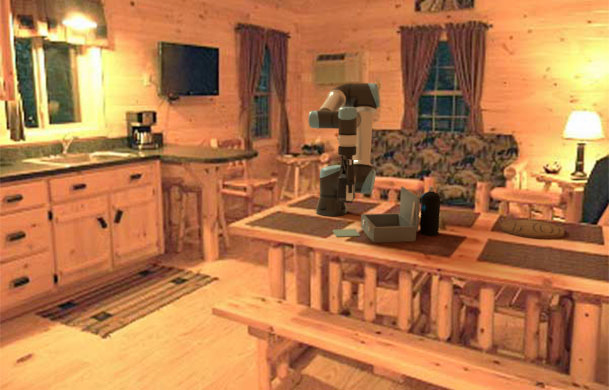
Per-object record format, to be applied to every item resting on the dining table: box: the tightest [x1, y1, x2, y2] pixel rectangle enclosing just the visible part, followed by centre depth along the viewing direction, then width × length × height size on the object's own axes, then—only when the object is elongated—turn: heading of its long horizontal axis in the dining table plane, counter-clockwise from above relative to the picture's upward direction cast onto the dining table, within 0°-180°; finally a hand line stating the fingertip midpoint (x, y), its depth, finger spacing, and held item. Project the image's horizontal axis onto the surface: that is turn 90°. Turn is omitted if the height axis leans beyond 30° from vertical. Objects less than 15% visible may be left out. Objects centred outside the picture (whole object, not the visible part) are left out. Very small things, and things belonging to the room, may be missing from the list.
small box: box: [337, 174, 356, 204], centre depth 213 cm, size 11×6×10 cm, turn 168°
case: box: [360, 186, 421, 244], centre depth 214 cm, size 22×19×18 cm
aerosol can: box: [418, 185, 442, 237], centre depth 215 cm, size 8×8×20 cm
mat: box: [332, 228, 361, 238], centre depth 217 cm, size 10×10×1 cm
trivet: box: [500, 219, 565, 240], centre depth 220 cm, size 25×25×2 cm
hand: (346, 197), depth 214 cm, fingers closed on small box, 11 cm apart
